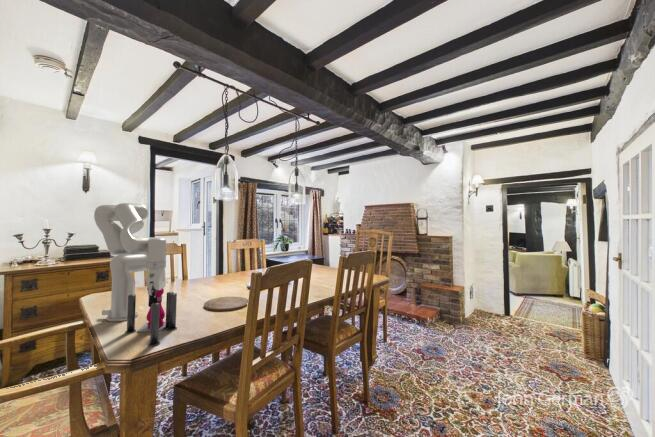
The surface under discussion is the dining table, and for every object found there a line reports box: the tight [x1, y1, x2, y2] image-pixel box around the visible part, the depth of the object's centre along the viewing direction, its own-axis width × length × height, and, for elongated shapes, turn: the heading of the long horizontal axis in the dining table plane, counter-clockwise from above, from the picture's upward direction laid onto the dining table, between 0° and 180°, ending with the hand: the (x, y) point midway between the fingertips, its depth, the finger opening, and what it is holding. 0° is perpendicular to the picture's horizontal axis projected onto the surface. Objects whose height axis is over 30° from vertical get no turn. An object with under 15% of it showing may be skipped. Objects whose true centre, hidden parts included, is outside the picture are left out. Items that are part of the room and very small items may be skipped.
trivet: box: [203, 296, 249, 312], centre depth 161 cm, size 25×25×2 cm
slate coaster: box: [136, 321, 166, 333], centre depth 125 cm, size 10×10×1 cm
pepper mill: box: [146, 288, 166, 328], centre depth 125 cm, size 7×7×20 cm
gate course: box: [124, 291, 178, 347], centre depth 115 cm, size 20×22×16 cm
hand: (155, 304), depth 125 cm, fingers open, 5 cm apart
